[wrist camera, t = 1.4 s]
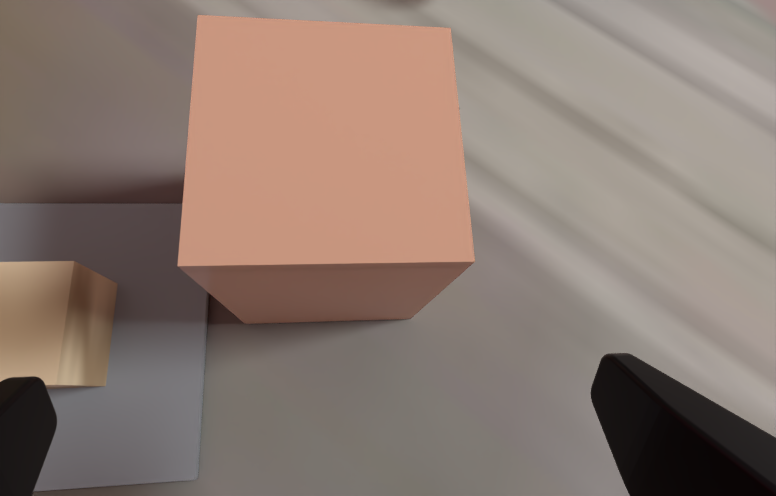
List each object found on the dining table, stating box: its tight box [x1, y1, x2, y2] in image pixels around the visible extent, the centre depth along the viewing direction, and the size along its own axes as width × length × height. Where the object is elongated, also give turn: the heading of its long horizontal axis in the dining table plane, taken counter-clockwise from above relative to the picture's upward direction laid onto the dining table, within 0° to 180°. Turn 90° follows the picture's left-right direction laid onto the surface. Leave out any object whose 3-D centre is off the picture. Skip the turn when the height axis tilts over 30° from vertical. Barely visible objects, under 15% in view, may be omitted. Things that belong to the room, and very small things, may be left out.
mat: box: [0, 203, 209, 492], centre depth 19 cm, size 11×11×1 cm
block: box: [0, 261, 118, 389], centre depth 17 cm, size 4×4×4 cm
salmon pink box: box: [178, 15, 475, 324], centre depth 17 cm, size 7×7×10 cm
